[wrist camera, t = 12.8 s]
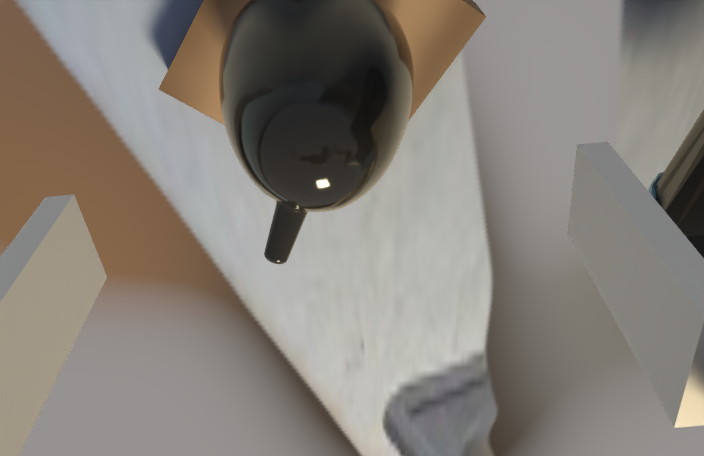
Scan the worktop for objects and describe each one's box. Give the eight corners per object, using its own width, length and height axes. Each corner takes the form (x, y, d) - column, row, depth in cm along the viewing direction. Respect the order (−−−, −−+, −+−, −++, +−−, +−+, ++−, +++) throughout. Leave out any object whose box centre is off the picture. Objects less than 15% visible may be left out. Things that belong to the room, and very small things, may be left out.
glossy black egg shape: (209, 102, 38) (152, 245, 26) (260, -72, 33) (219, 2, 21) (363, 155, 41) (380, 310, 28) (434, 1, 36) (492, 107, 23)
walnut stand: (475, 3, 39) (486, 16, 36) (351, 173, 45) (353, 195, 42) (275, -140, 34) (271, -136, 32) (169, 71, 40) (158, 89, 38)
